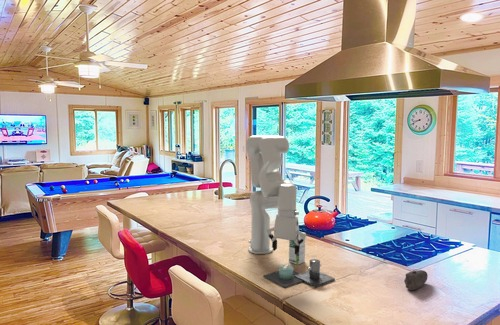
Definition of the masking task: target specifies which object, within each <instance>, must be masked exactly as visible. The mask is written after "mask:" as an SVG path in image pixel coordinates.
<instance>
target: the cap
mask: <svg viewBox="0 0 500 325" xmlns="http://www.w3.org/2000/svg"><path fill="white" fill-rule="evenodd" d="M278 271H279V278H281V279H284V280H289V279H292V278H293V271H294V267H293V266H291V265H290V264H289V263H286V264H283V265H282V264H281V265H280V266H279V267H278Z"/></svg>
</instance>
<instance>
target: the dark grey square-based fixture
mask: <svg viewBox="0 0 500 325" xmlns="http://www.w3.org/2000/svg"><path fill="white" fill-rule="evenodd" d="M321 267H322V263H321V260H319V259H315V258H312V259H310V260H309V265H308V267H307V271H304V272H301V273H299V274H298V275H295V276H294V277H296V278H298V279H300V280H303V282H302V283H304V284H306V285H308V286H310V287H311V288H318V287H321V286H323V285H327V284H328V283H329V284H330V283H331V282H334V281H336V279H335V277H333V276H331V275H328V274H326V273H325V272H324V273H323V272H321Z"/></svg>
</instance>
